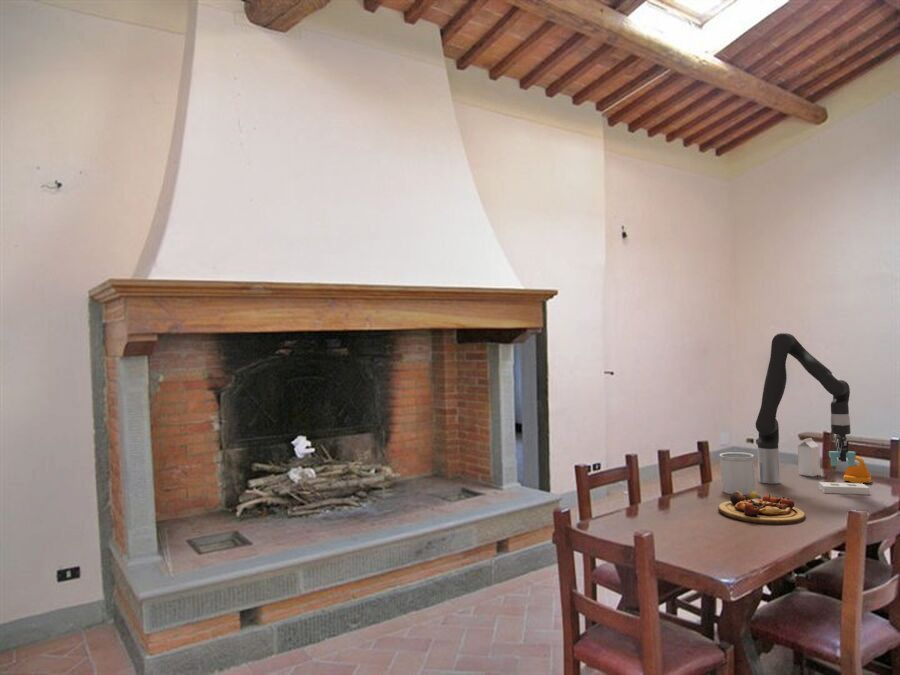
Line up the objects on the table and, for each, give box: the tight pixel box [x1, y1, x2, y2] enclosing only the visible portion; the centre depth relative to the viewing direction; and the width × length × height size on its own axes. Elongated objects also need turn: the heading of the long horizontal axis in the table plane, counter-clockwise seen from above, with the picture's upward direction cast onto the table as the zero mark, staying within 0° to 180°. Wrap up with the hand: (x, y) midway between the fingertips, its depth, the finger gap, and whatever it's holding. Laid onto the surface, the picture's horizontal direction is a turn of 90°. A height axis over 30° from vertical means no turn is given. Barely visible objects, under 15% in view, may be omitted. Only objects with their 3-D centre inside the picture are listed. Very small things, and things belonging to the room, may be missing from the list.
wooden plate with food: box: [717, 491, 807, 525], centre depth 251 cm, size 32×32×8 cm
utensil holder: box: [719, 451, 756, 496], centre depth 288 cm, size 15×15×18 cm
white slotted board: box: [818, 481, 871, 496], centre depth 282 cm, size 18×9×3 cm, turn 71°
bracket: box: [842, 455, 872, 484], centre depth 300 cm, size 11×7×12 cm, turn 50°
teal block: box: [828, 450, 857, 467], centre depth 282 cm, size 10×3×6 cm, turn 71°
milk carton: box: [797, 437, 821, 477], centre depth 318 cm, size 7×7×19 cm
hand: (842, 460), depth 282 cm, fingers closed on teal block, 3 cm apart
